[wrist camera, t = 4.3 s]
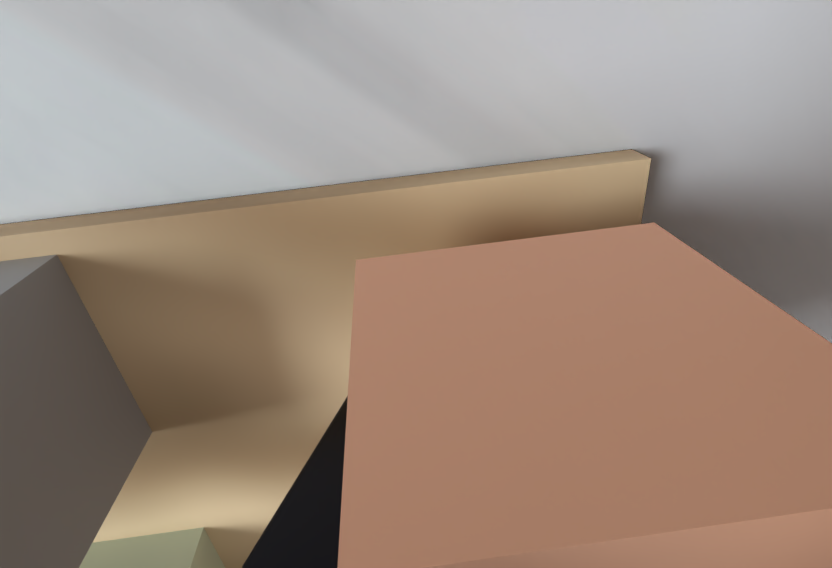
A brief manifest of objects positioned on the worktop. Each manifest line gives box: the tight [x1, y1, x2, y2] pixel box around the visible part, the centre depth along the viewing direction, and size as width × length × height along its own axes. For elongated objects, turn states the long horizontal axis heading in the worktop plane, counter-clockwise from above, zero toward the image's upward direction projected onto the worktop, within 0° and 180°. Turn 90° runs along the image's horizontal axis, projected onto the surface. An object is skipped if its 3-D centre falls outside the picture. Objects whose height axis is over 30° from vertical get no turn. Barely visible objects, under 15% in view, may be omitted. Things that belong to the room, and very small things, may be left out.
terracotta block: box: [337, 223, 832, 568], centre depth 7 cm, size 5×5×5 cm
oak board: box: [0, 149, 651, 568], centre depth 13 cm, size 15×18×1 cm
